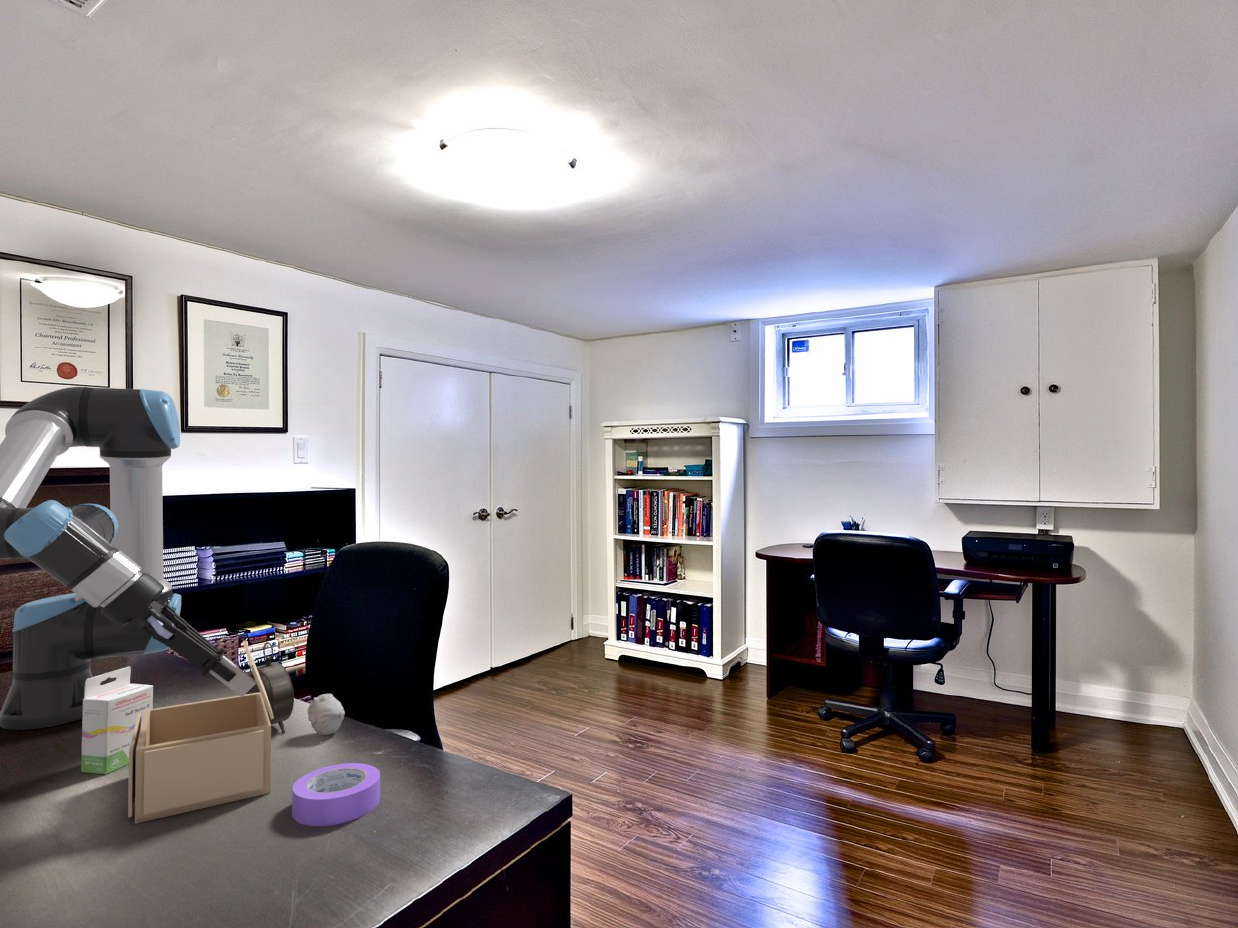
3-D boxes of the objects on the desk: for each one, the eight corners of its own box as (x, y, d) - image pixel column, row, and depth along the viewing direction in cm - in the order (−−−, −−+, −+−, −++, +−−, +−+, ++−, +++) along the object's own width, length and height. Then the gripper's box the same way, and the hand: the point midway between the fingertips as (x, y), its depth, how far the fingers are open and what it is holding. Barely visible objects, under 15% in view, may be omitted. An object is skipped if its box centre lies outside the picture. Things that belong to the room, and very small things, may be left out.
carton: (137, 772, 106) (138, 709, 106) (260, 748, 115) (260, 690, 115) (127, 827, 89) (128, 753, 90) (270, 794, 99) (271, 727, 99)
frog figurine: (329, 724, 126) (330, 687, 127) (352, 732, 123) (352, 694, 123) (299, 734, 121) (299, 696, 121) (322, 743, 118) (322, 703, 118)
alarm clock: (295, 732, 123) (296, 643, 123) (265, 741, 118) (266, 650, 119) (268, 718, 129) (269, 634, 130) (238, 726, 125) (239, 640, 125)
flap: (262, 688, 114) (243, 641, 113) (264, 687, 114) (245, 640, 113) (271, 719, 100) (249, 665, 99) (274, 718, 100) (252, 664, 99)
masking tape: (284, 802, 97) (284, 775, 97) (366, 780, 104) (366, 755, 104) (302, 837, 88) (302, 807, 88) (391, 810, 95) (391, 782, 95)
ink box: (105, 775, 105) (106, 681, 105) (79, 772, 106) (81, 679, 106) (154, 753, 113) (155, 666, 114) (129, 750, 114) (130, 664, 114)
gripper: (103, 602, 100) (227, 696, 109) (90, 618, 89) (230, 722, 98) (147, 565, 103) (265, 659, 112) (140, 576, 92) (271, 680, 101)
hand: (248, 688), depth 105 cm, fingers closed
